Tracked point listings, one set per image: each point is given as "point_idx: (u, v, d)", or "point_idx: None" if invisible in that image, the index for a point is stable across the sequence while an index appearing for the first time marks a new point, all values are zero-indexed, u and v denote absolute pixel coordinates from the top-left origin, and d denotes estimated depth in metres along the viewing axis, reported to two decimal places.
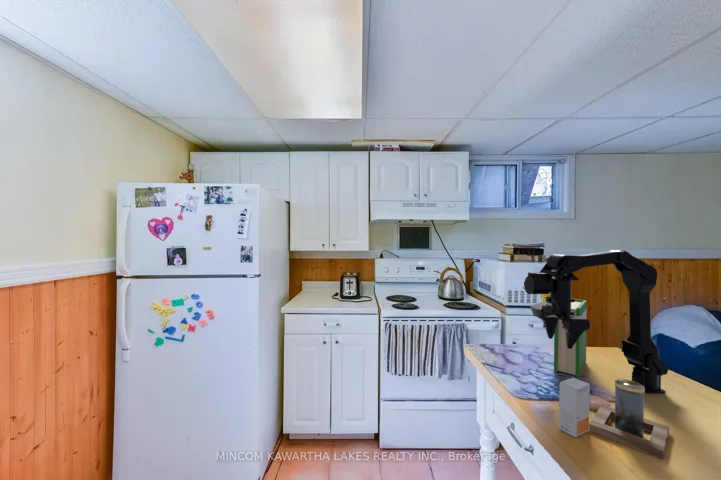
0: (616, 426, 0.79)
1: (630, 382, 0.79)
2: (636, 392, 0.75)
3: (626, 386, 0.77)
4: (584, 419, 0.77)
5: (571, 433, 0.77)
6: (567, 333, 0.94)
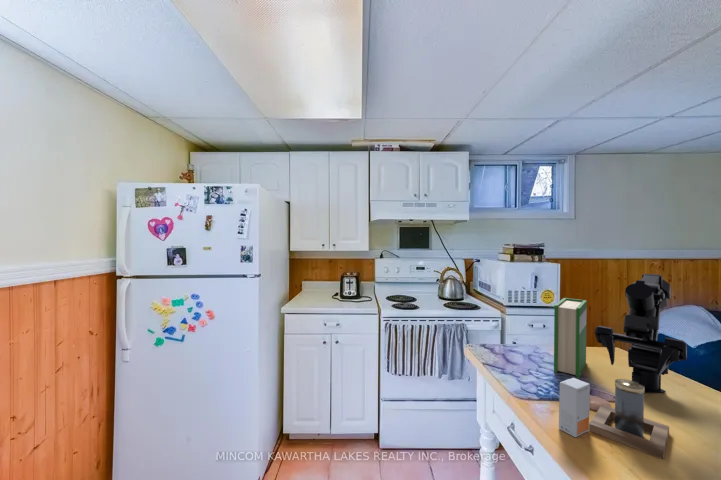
0: (616, 426, 0.79)
1: (630, 382, 0.79)
2: (636, 392, 0.75)
3: (626, 386, 0.77)
4: (584, 419, 0.77)
5: (571, 433, 0.77)
6: (665, 356, 0.81)
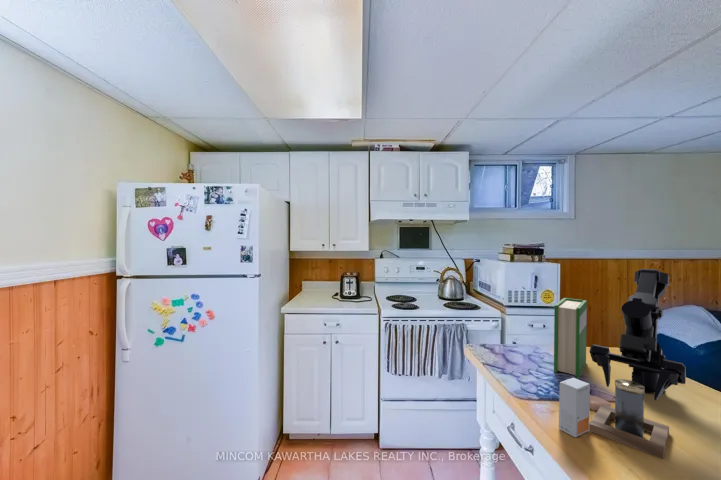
0: (616, 426, 0.79)
1: (630, 382, 0.79)
2: (636, 392, 0.75)
3: (626, 386, 0.77)
4: (584, 419, 0.77)
5: (571, 433, 0.77)
6: (663, 379, 0.77)
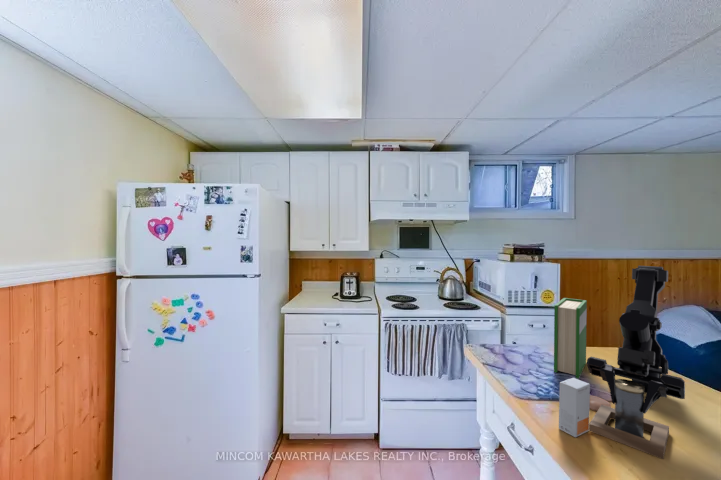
0: (616, 426, 0.79)
1: (630, 382, 0.79)
2: (636, 392, 0.75)
3: (626, 386, 0.77)
4: (584, 419, 0.77)
5: (571, 433, 0.77)
6: (651, 392, 0.76)
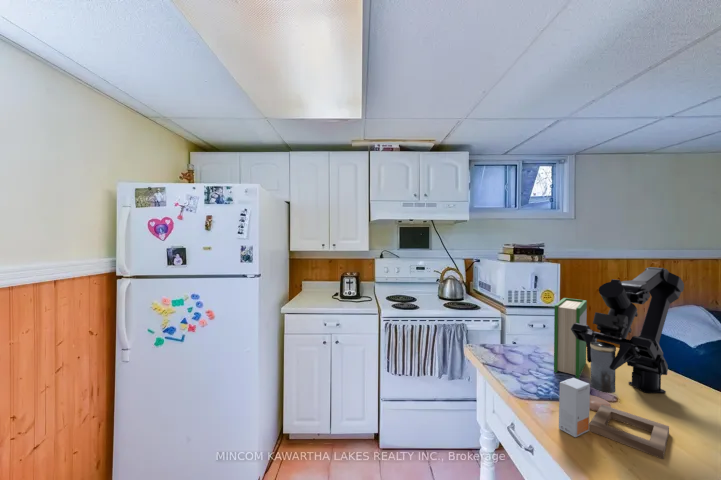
0: None
1: (605, 343, 0.87)
2: (605, 350, 0.84)
3: (597, 346, 0.86)
4: (584, 419, 0.77)
5: (571, 433, 0.77)
6: (622, 351, 0.84)
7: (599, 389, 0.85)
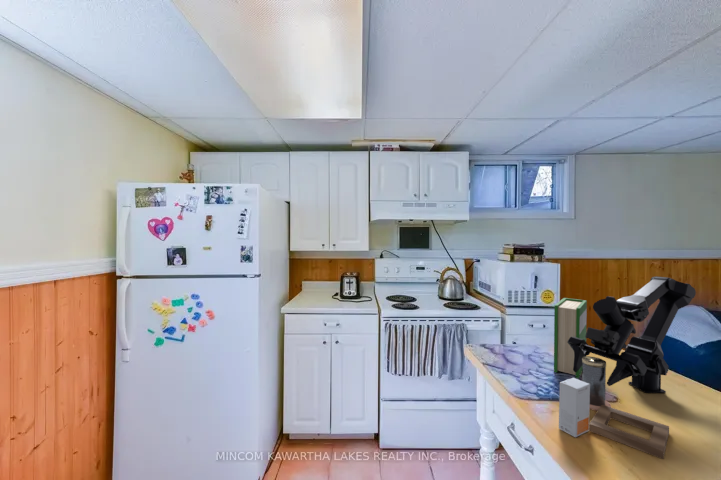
0: None
1: (597, 359, 0.92)
2: (594, 365, 0.89)
3: (588, 360, 0.90)
4: (584, 419, 0.77)
5: (571, 433, 0.77)
6: (618, 368, 0.86)
7: None
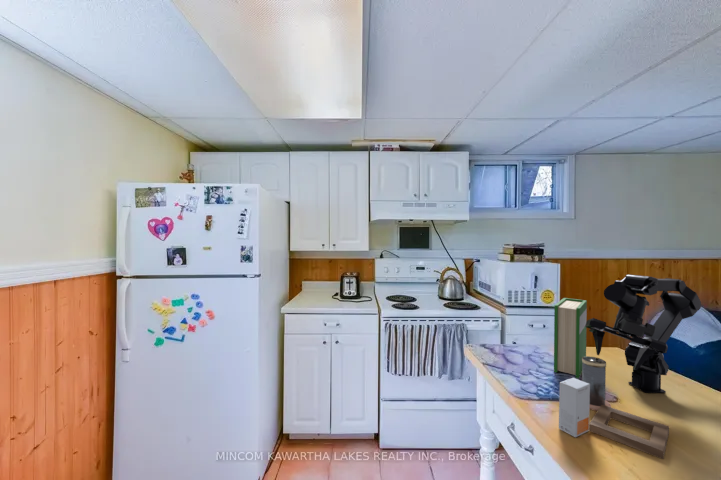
0: None
1: (597, 359, 0.92)
2: (594, 365, 0.89)
3: (588, 360, 0.90)
4: (584, 419, 0.77)
5: (571, 433, 0.77)
6: (646, 355, 0.91)
7: None
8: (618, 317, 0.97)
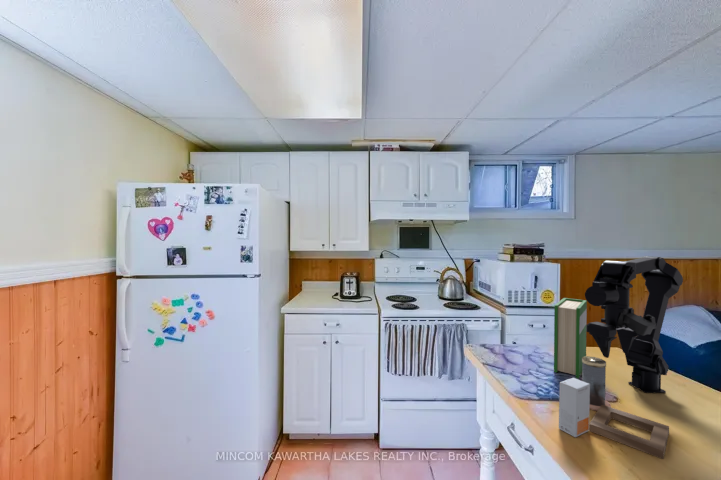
0: None
1: (597, 359, 0.92)
2: (594, 365, 0.89)
3: (588, 360, 0.90)
4: (584, 419, 0.77)
5: (571, 433, 0.77)
6: (633, 338, 0.95)
7: None
8: (614, 313, 0.92)
